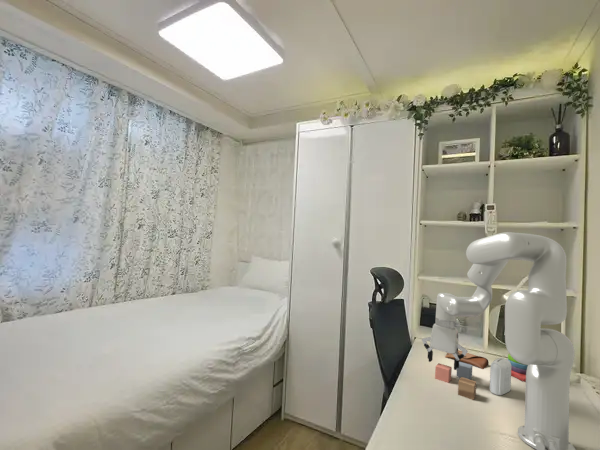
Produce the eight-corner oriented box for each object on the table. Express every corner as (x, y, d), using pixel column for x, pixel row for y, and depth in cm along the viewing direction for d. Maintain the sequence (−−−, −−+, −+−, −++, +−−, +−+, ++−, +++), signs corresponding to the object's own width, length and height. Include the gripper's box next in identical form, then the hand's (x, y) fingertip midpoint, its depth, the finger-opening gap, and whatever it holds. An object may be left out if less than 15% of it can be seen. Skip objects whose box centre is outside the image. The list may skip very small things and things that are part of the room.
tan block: (473, 400, 104) (474, 385, 105) (457, 395, 107) (458, 381, 108) (475, 395, 108) (476, 381, 108) (460, 390, 111) (461, 376, 112)
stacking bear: (499, 372, 133) (501, 332, 134) (513, 369, 137) (514, 331, 138) (526, 383, 123) (527, 339, 124) (540, 380, 127) (541, 338, 128)
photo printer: (499, 386, 117) (501, 354, 118) (512, 391, 114) (513, 358, 115) (487, 391, 112) (488, 358, 113) (500, 397, 108) (501, 362, 109)
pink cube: (448, 383, 117) (448, 370, 117) (434, 378, 120) (435, 366, 120) (451, 379, 121) (451, 366, 121) (438, 375, 124) (438, 363, 124)
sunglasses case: (443, 356, 146) (445, 343, 149) (446, 361, 150) (449, 348, 153) (484, 369, 134) (486, 355, 136) (487, 374, 138) (489, 360, 141)
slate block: (469, 380, 121) (470, 368, 121) (456, 376, 124) (456, 364, 124) (472, 377, 125) (472, 365, 125) (458, 373, 128) (459, 361, 128)
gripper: (470, 327, 119) (468, 369, 119) (426, 317, 130) (423, 355, 130) (467, 330, 114) (464, 375, 113) (421, 319, 125) (418, 360, 124)
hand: (442, 364), depth 121 cm, fingers open, 9 cm apart
